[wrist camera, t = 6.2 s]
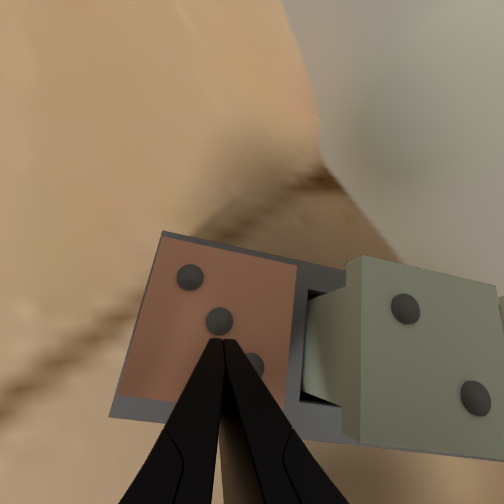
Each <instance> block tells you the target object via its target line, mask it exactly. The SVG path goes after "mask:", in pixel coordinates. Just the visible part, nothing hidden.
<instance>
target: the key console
mask: <svg viewBox="0 0 504 504" xmlns="http://www.w3.org/2000/svg"><path fill="white" fill-rule="evenodd" d="M162 236H163V237H168V238H173V239H177V240H182V241H186V242H191V243H195V244H200V245H205V246H209V247H214V248H218V249H223V250H228V251H232V252H237V253H241V254H246V255H250V256H255V257H260V258H264V259H269V260H273V261H278V262H283V263H287V264H292V265H296V266H297V272H296V282H295V293H294V303H293V314H292V324H291V334H290V345H289V355H288V366H287V376H286V387H285V397H284V408H283V412H284V414H285V416H286V417H287V419H288V420H289V422H290V423H291V425H292V429H295V431H296V432H297V434H298V435H299V437H300V438H301V439H305V440H314V441H323V442H332V443H341V444H349V445H358V446H367V447H376V448H385V449H393V450H402V451H411V452H420V453H429V454H437V455H446V456H455V457H464V458H473V459H482V460H490V461H499V462H504V460H500V459H491V458H483V457H474V456H465V455H457V454H448V453H439V452H430V451H422V450H413V449H404V448H396V447H387V446H378V445H370V444H361V443H359V442H357V441H355V440H353V439H351V438H350V437H348V436H346V435H344V434H343V433H341V427H342V406H339V405H337V404H330V403H323V402H316V401H309V400H301V399H299V397H300V384H301V372H302V359H303V346H304V333H305V321H306V308H307V300H311V299H313V298H316V297H319V296H321V295H324V294H327V293H329V292H332V291H335V290H337V289H340V288H343V287H345V286H346V271H343V270H339V269H334V268H330V267H325V266H321V265H316V264H312V263H307V262H303V261H298V260H294V259H289V258H285V257H280V256H276V255H271V254H267V253H262V252H258V251H253V250H249V249H244V248H239V247H235V246H230V245H226V244H221V243H217V242H212V241H208V240H203V239H199V238H194V237H190V236H185V235H181V234H176V233H172V232H167V231H163V230H162V234H161V237H160V241H159V244H158V248H157V251H156V254H155V258H154V261H153V265H152V268H151V272H150V275H149V279H148V282H147V285H146V289H145V292H144V296H143V299H142V303H141V306H140V310H139V313H138V317H137V320H136V323H135V327H134V330H133V334H132V337H131V341H130V344H129V348H128V351H127V354H126V358H125V361H124V365H123V368H122V372H121V375H120V379H119V382H118V385H117V389H116V392H115V396H114V399H113V403H112V406H111V410H110V413H109V417H111V418H120V419H129V420H138V421H147V422H155V423H164V424H166V422H167V420H168V418H169V416H170V414H171V412H172V410H173V408H174V406H175V405H176V402H168V401H161V400H153V399H145V398H137V397H129V396H121V395H117V392H118V389H119V385H120V382H121V378H122V375H123V372H124V368H125V365H126V361H127V358H128V354H129V351H130V347H131V344H132V340H133V337H134V333H135V330H136V326H137V323H138V319H139V316H140V312H141V309H142V305H143V302H144V299H145V295H146V292H147V288H148V285H149V281H150V278H151V274H152V271H153V267H154V264H155V260H156V257H157V253H158V250H159V246H160V243H161V239H162ZM499 310H500V305H499ZM500 315H501V310H500Z"/></svg>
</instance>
